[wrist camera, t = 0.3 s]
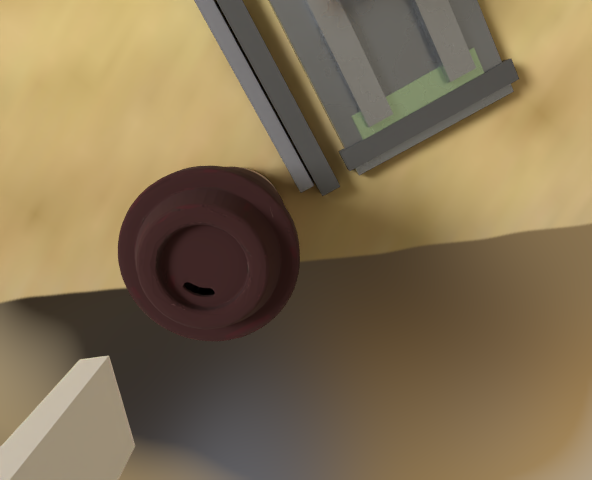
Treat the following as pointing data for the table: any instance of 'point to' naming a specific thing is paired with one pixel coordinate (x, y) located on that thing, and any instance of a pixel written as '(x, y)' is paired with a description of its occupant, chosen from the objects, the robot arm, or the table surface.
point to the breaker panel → (388, 60)
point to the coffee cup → (210, 252)
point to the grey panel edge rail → (430, 115)
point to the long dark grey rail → (268, 93)
